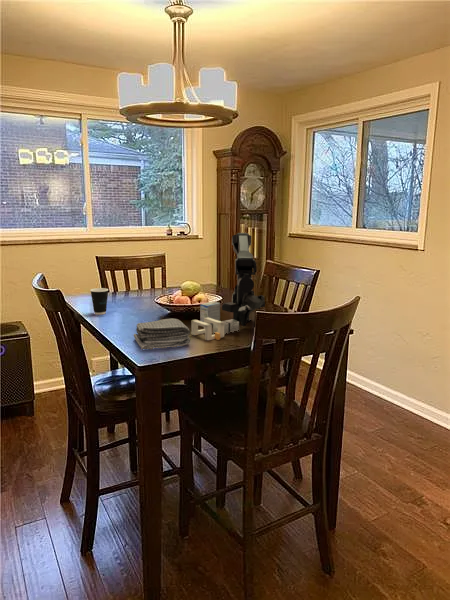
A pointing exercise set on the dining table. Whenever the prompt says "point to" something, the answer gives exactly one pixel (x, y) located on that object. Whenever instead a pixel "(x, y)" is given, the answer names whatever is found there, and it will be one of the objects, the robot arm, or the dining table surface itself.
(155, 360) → the dining table surface
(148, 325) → the towel
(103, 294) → the dixie cup
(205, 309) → the medicine box
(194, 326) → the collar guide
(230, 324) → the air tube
